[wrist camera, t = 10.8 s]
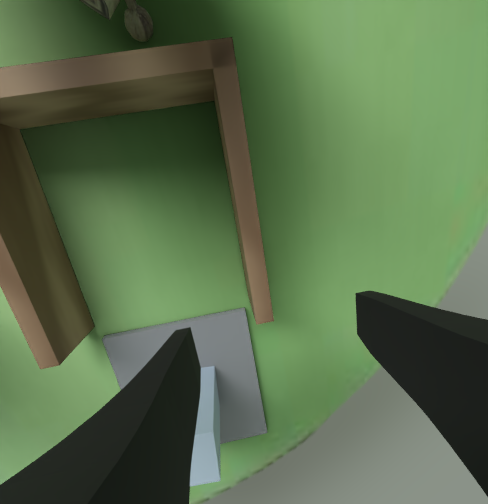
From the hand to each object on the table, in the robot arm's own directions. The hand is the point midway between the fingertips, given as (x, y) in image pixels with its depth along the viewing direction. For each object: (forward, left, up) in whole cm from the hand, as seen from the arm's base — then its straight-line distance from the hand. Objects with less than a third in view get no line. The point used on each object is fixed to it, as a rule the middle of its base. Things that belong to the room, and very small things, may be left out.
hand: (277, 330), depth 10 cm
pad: (-7, -11, -10) cm, 16 cm away
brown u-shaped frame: (-7, +5, -10) cm, 13 cm away
